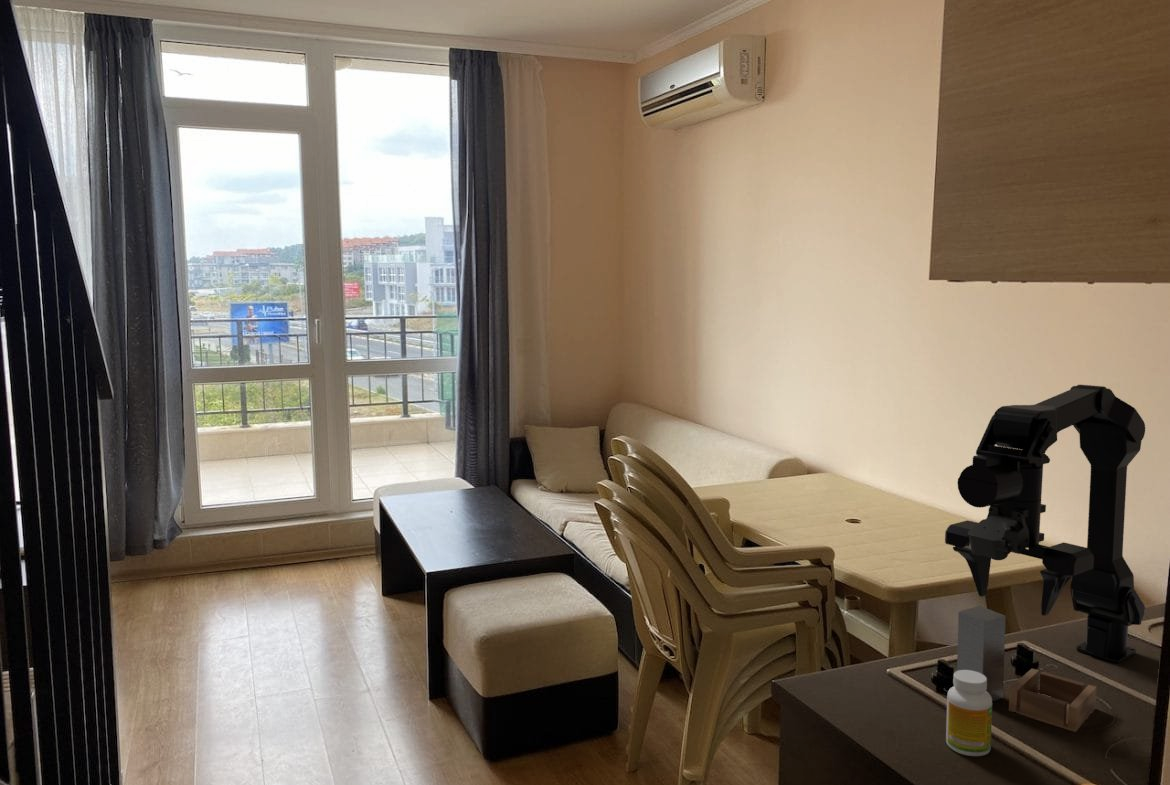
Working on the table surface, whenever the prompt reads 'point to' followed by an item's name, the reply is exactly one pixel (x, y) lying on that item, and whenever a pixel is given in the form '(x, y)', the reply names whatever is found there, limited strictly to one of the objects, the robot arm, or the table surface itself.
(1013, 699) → the wooden square frame
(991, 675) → the steel square block
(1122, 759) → the table surface
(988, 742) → the supplement bottle
